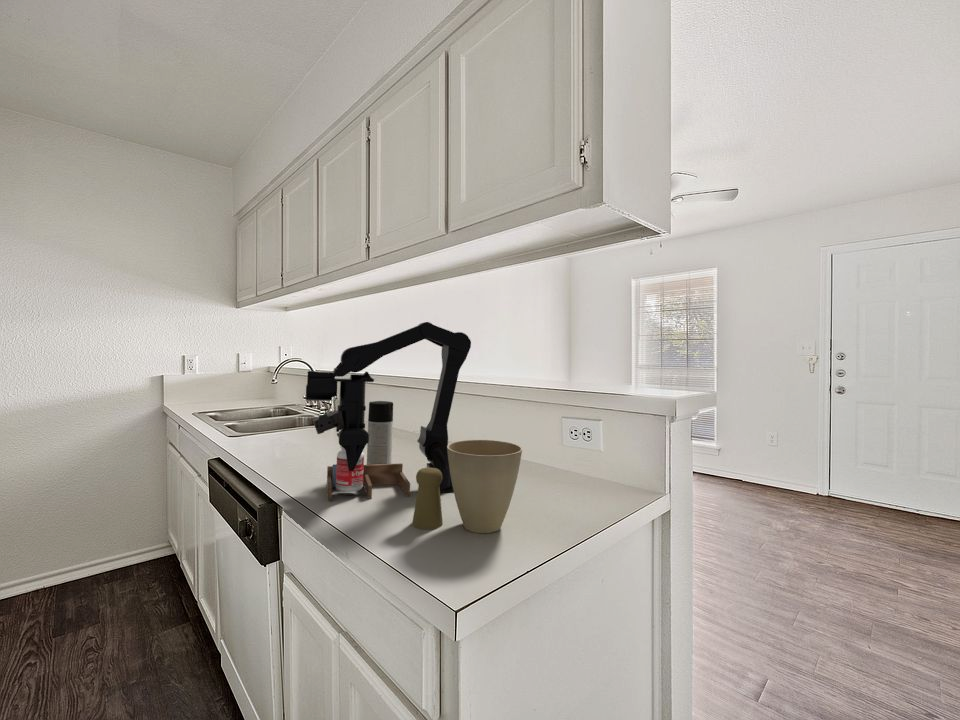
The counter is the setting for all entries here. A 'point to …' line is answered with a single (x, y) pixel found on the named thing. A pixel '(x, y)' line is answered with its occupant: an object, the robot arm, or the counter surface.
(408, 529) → the counter surface
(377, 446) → the spray can
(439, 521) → the olive green peg figure
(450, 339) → the robot arm
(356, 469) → the pill bottle
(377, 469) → the divider rack
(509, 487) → the plant pot
